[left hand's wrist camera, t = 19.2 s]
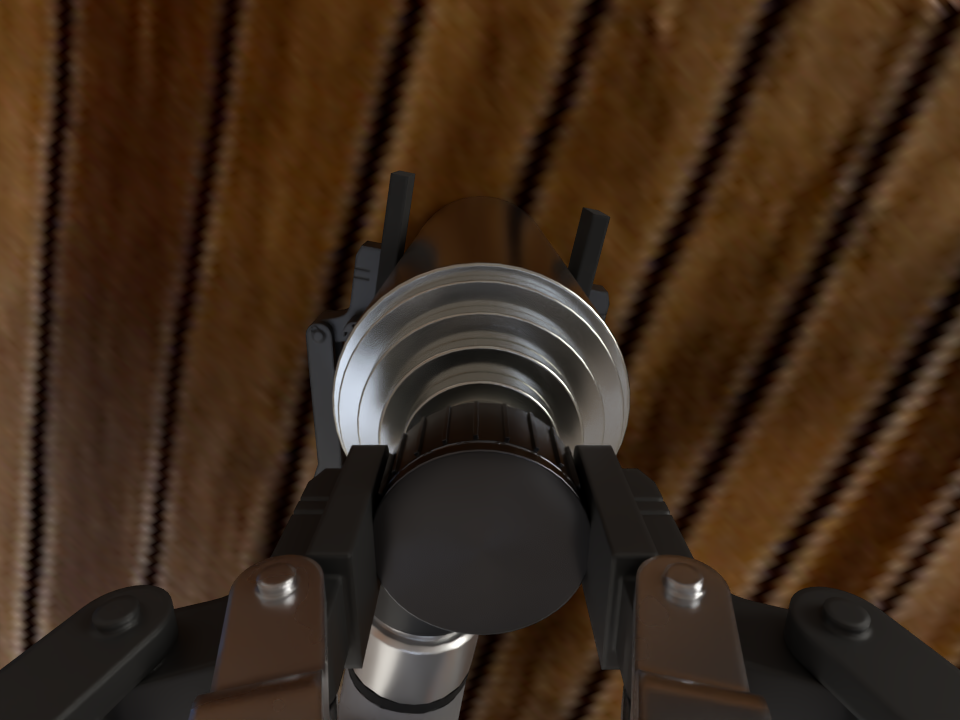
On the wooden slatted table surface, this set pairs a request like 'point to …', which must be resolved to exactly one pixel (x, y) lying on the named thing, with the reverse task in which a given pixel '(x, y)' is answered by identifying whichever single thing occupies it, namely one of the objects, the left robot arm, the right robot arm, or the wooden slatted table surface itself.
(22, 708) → the left robot arm
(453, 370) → the bottle
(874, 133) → the wooden slatted table surface
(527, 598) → the cap
